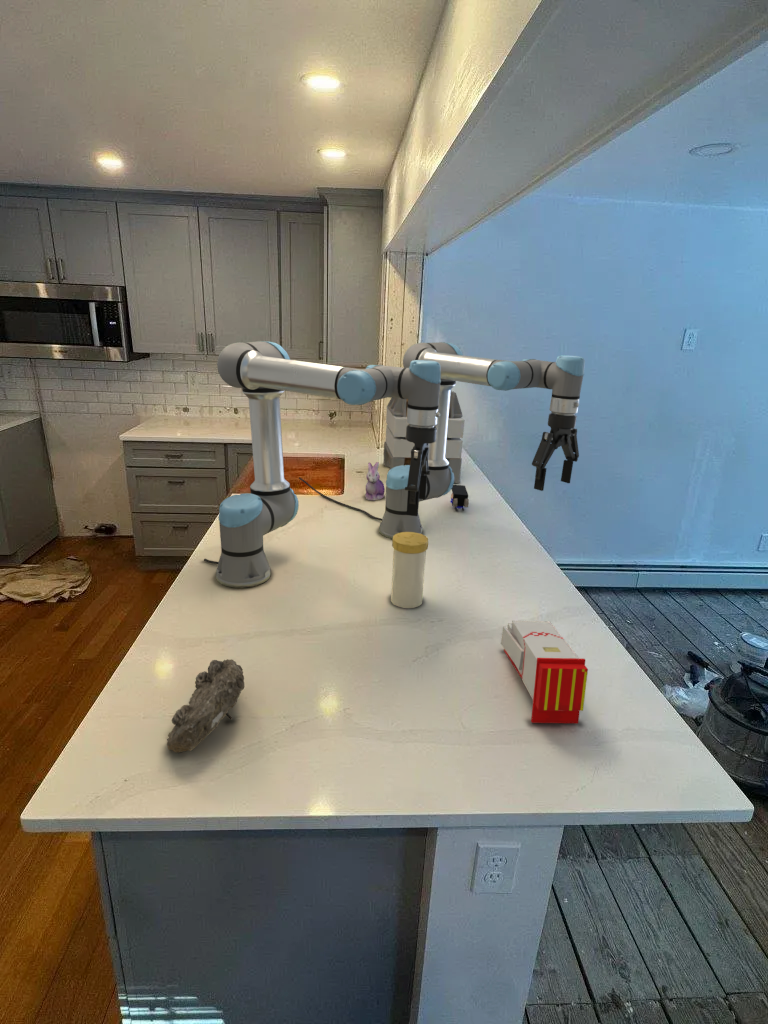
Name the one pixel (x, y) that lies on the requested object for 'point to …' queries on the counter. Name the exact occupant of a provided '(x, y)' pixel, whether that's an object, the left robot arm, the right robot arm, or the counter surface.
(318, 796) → the counter surface
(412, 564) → the jar
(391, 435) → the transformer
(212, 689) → the fossil
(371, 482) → the figurine
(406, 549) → the lid
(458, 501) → the figurine character
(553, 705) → the toy
